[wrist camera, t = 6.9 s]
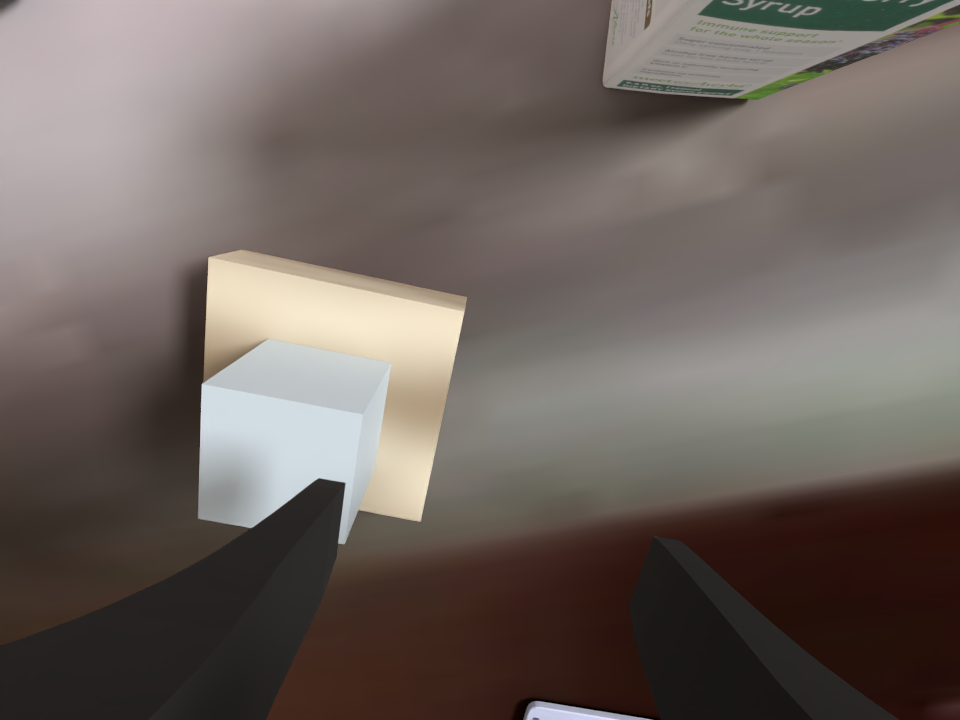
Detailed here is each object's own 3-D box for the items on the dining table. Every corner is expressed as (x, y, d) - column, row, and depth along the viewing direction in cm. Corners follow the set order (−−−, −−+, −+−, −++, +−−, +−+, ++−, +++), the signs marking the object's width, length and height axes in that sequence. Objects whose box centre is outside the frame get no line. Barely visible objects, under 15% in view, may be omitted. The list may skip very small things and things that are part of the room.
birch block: (428, 481, 23) (420, 521, 21) (235, 444, 23) (199, 479, 20) (467, 295, 21) (464, 311, 18) (247, 248, 20) (208, 257, 17)
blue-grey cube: (375, 468, 20) (344, 544, 16) (260, 447, 20) (197, 518, 15) (391, 362, 18) (363, 414, 14) (268, 338, 18) (201, 383, 14)
